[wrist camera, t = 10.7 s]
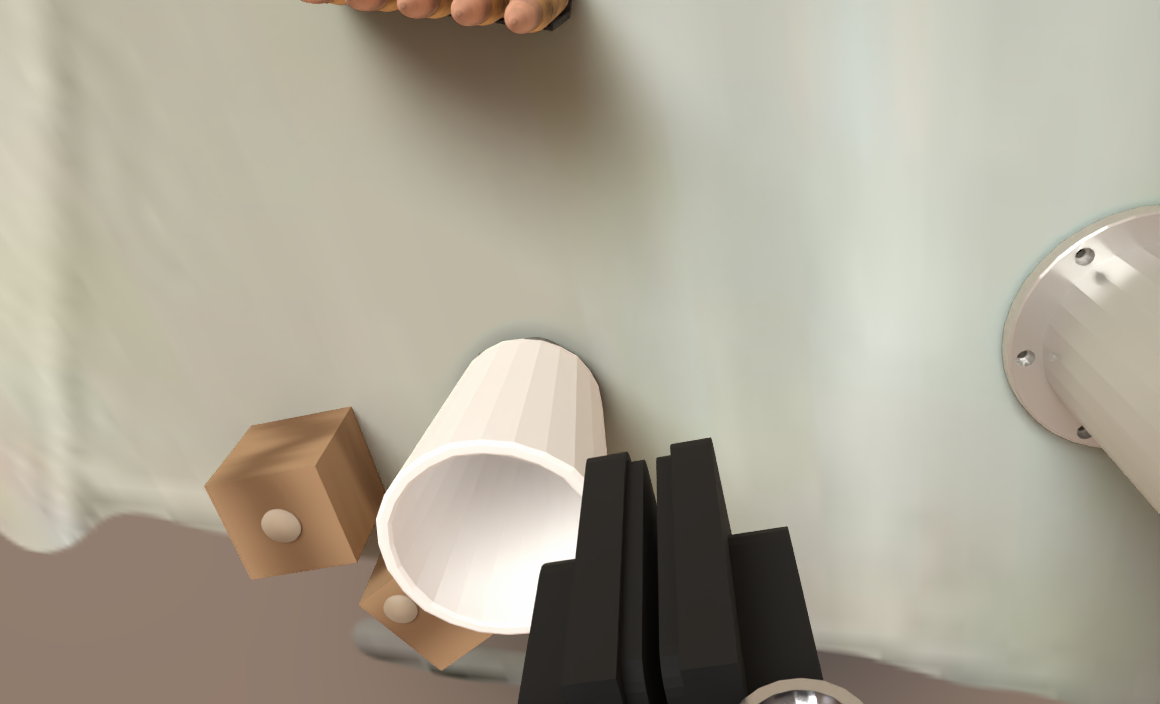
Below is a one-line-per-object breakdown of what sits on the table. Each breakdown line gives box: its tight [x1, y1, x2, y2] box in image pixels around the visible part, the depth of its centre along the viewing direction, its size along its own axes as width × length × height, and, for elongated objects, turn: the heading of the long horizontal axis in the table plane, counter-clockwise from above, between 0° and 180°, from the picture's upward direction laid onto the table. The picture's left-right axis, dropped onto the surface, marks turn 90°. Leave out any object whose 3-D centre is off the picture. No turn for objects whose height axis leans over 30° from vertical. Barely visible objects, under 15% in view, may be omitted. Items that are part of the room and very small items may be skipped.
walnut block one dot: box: [204, 407, 386, 580], centre depth 48 cm, size 6×6×6 cm
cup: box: [376, 337, 607, 635], centre depth 42 cm, size 10×10×13 cm
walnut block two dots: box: [359, 553, 493, 671], centre depth 50 cm, size 6×6×6 cm
